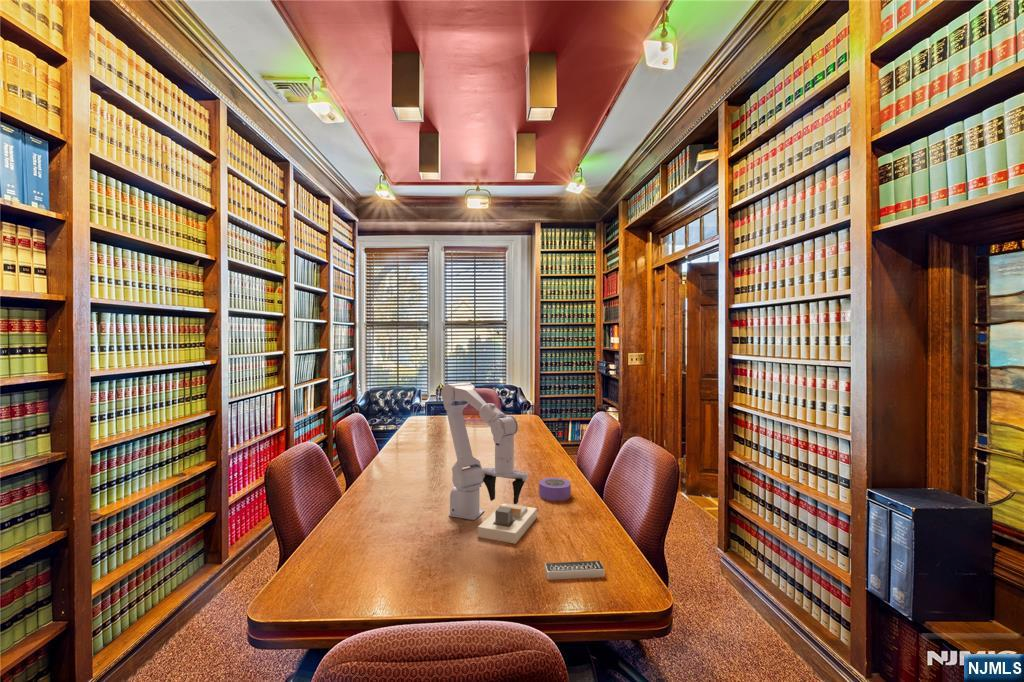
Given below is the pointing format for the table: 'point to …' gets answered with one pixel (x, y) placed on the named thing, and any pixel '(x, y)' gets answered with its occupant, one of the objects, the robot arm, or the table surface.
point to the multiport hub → (574, 570)
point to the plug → (503, 516)
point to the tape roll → (554, 489)
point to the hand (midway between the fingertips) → (504, 501)
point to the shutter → (516, 509)
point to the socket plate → (507, 533)
